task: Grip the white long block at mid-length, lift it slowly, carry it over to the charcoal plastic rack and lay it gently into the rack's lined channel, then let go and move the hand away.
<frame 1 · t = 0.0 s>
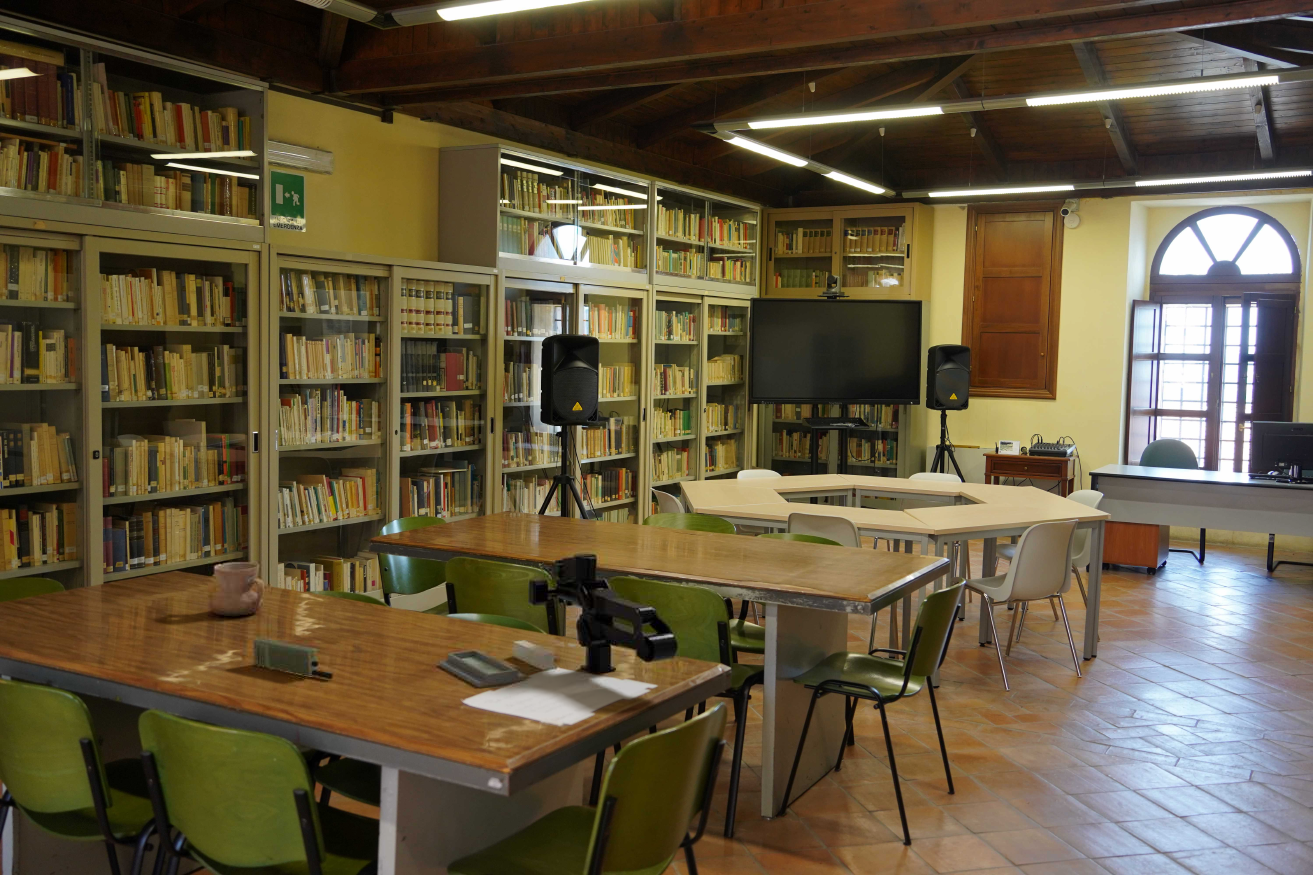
hand: (547, 584, 275), 17 cm above the table, tool horizontal, fingers open, 9 cm apart
strip rack: (481, 672, 250), on the table
ceramic jug: (238, 614, 308), on the table
handheld radio: (293, 674, 248), on the table
white long block: (533, 663, 261), on the table
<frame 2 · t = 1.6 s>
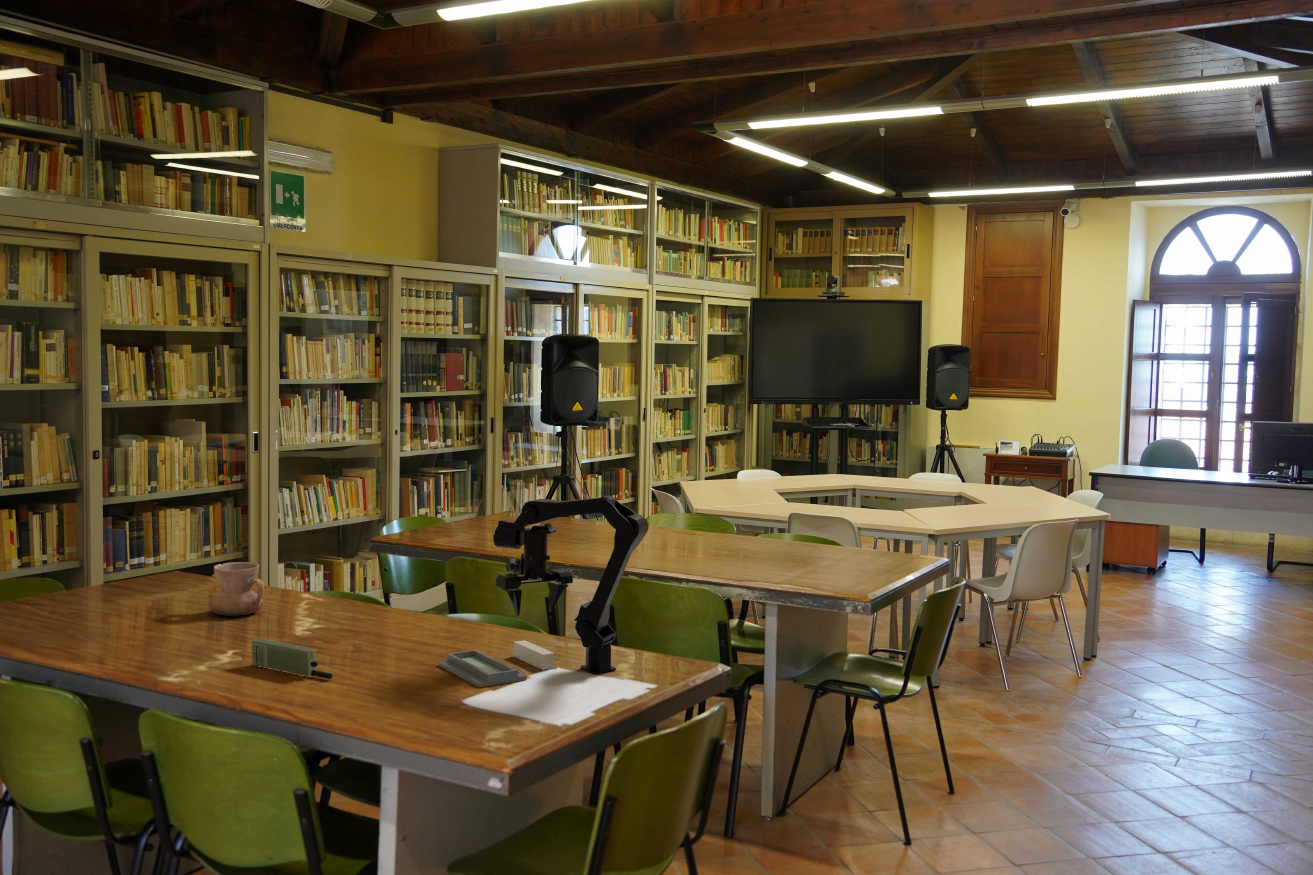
hand: (534, 613, 260), 12 cm above the table, tool pointing down, fingers open, 9 cm apart
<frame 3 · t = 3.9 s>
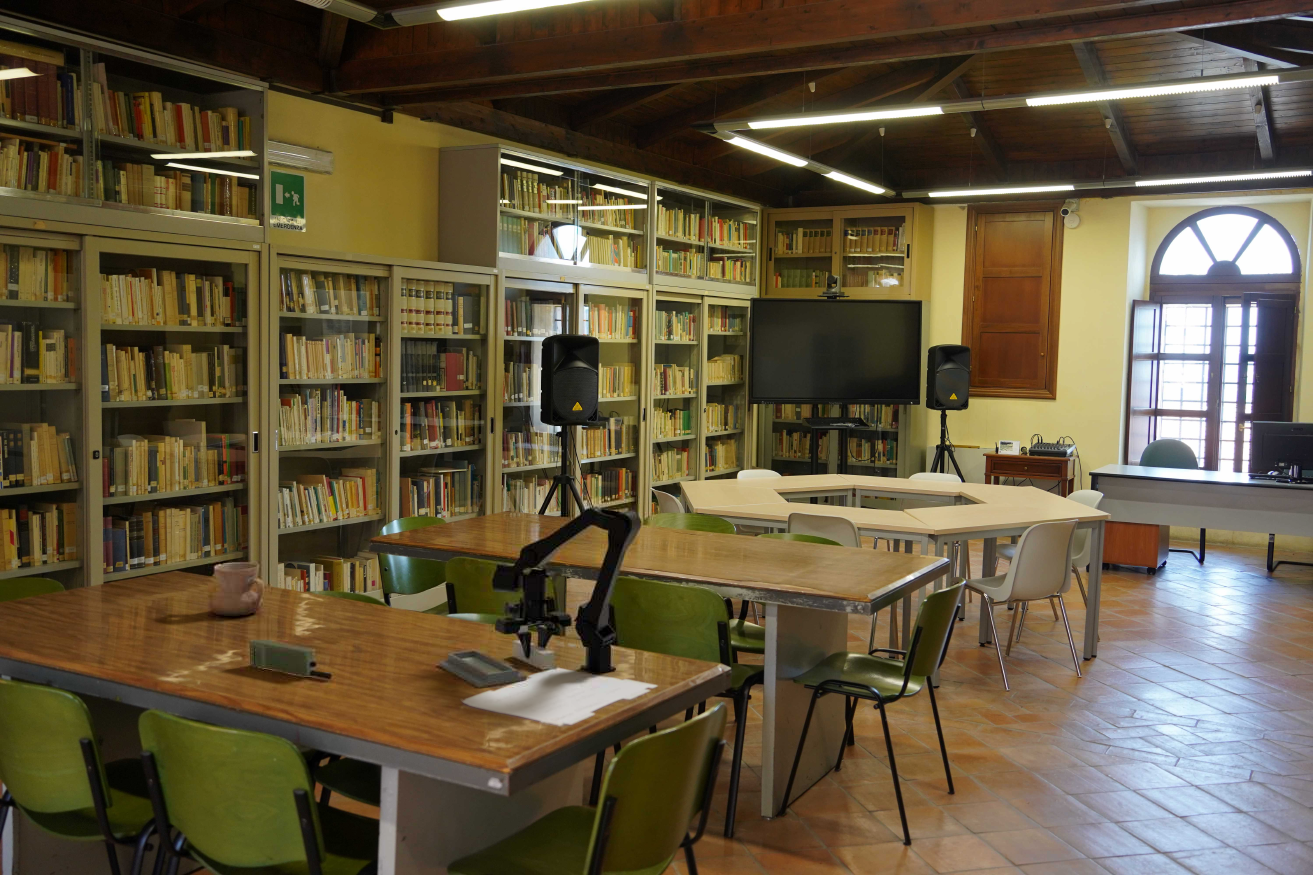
hand: (533, 657, 261), 1 cm above the table, tool pointing down, fingers closed on white long block, 3 cm apart
white long block: (533, 662, 261), on the table, touching gripper
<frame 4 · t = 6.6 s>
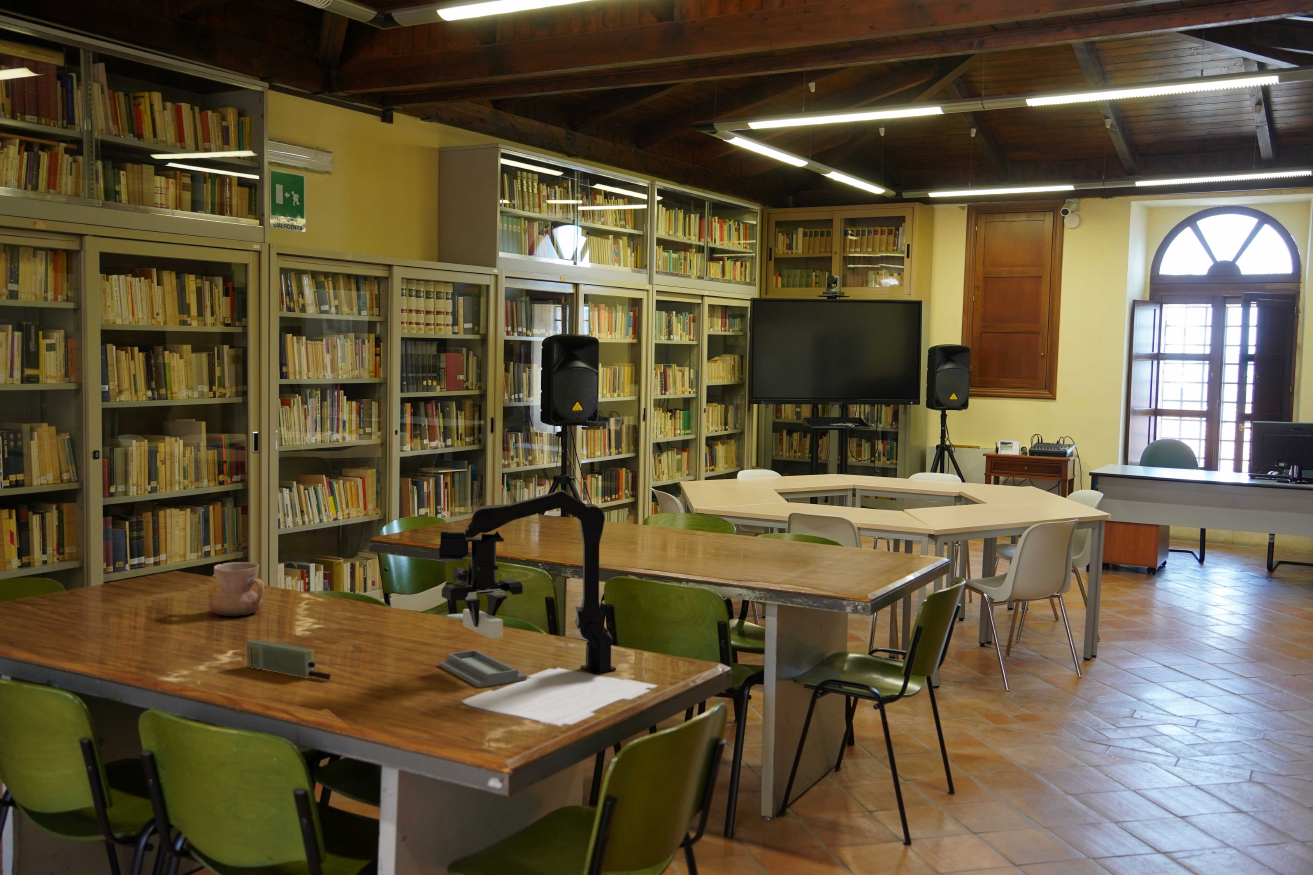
hand: (482, 625, 250), 11 cm above the table, tool pointing down, fingers closed on white long block, 3 cm apart
white long block: (482, 631, 250), point 10 cm above the table, touching gripper
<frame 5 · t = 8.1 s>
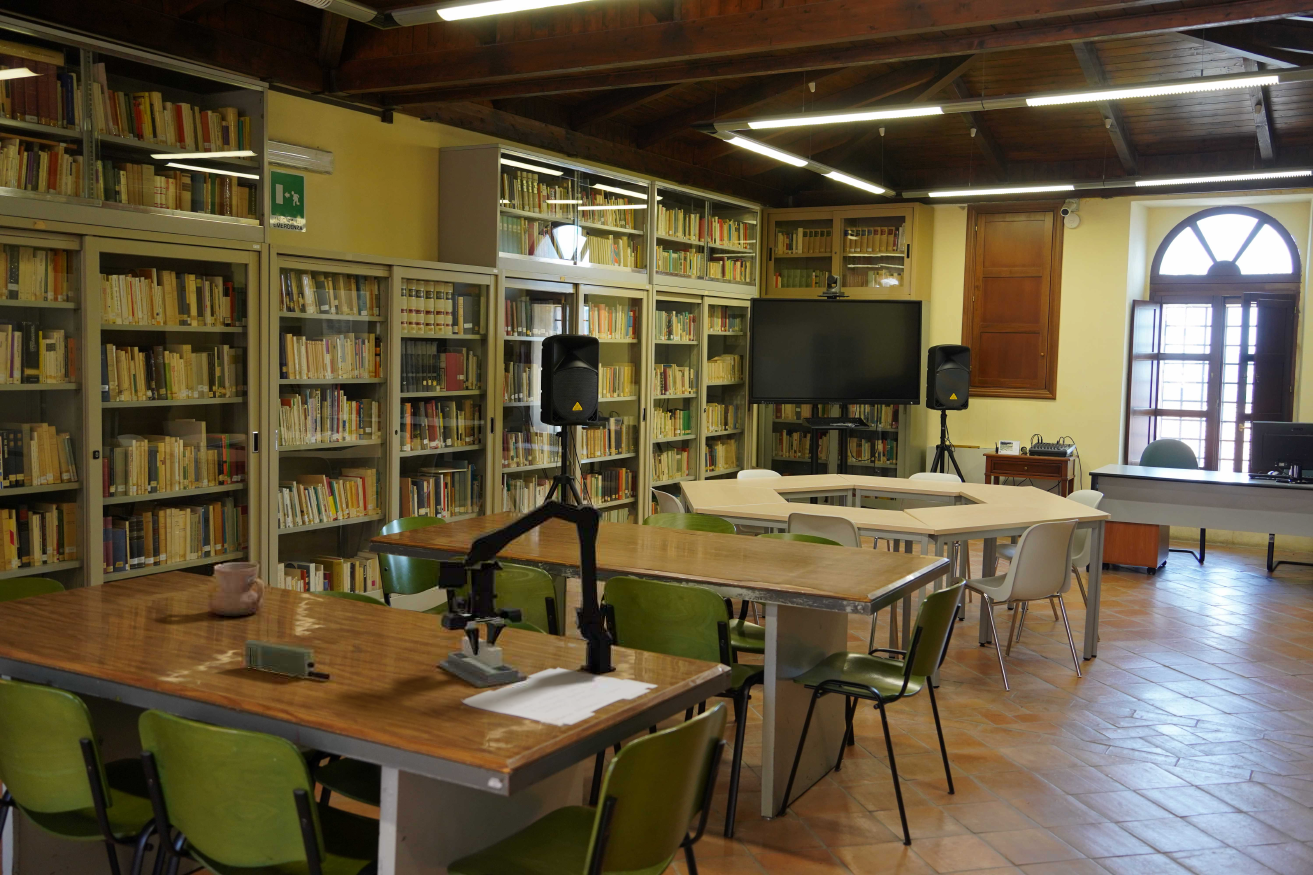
hand: (482, 654, 250), 4 cm above the table, tool pointing down, fingers closed on white long block, 3 cm apart
white long block: (481, 659, 250), point 3 cm above the table, touching gripper
when the fingers open (3 cm above the table, at t = 9.0 s): white long block stays where it is, resting on strip rack.
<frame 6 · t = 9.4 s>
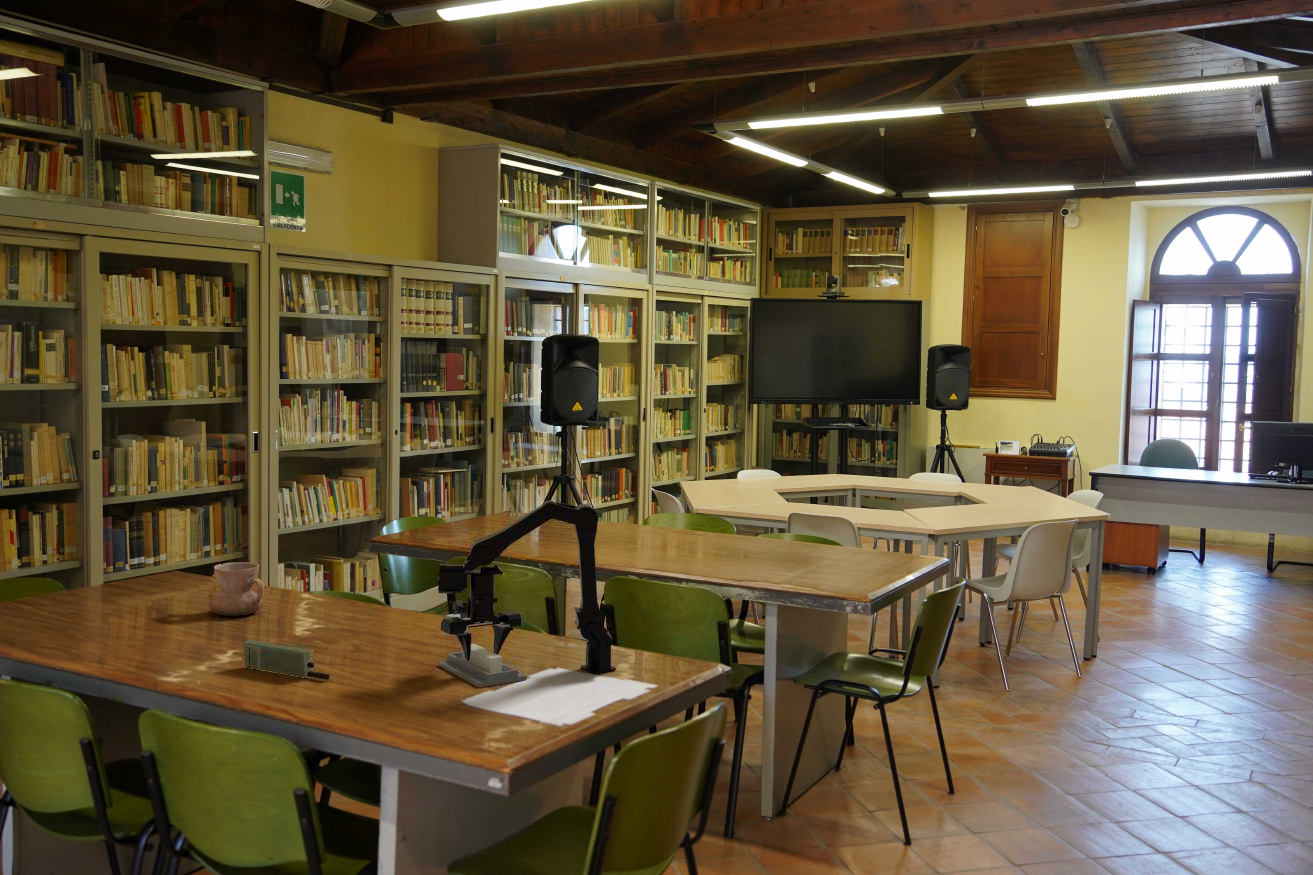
hand: (481, 658, 250), 3 cm above the table, tool pointing down, fingers open, 7 cm apart
white long block: (481, 667, 250), point 1 cm above the table, touching strip rack
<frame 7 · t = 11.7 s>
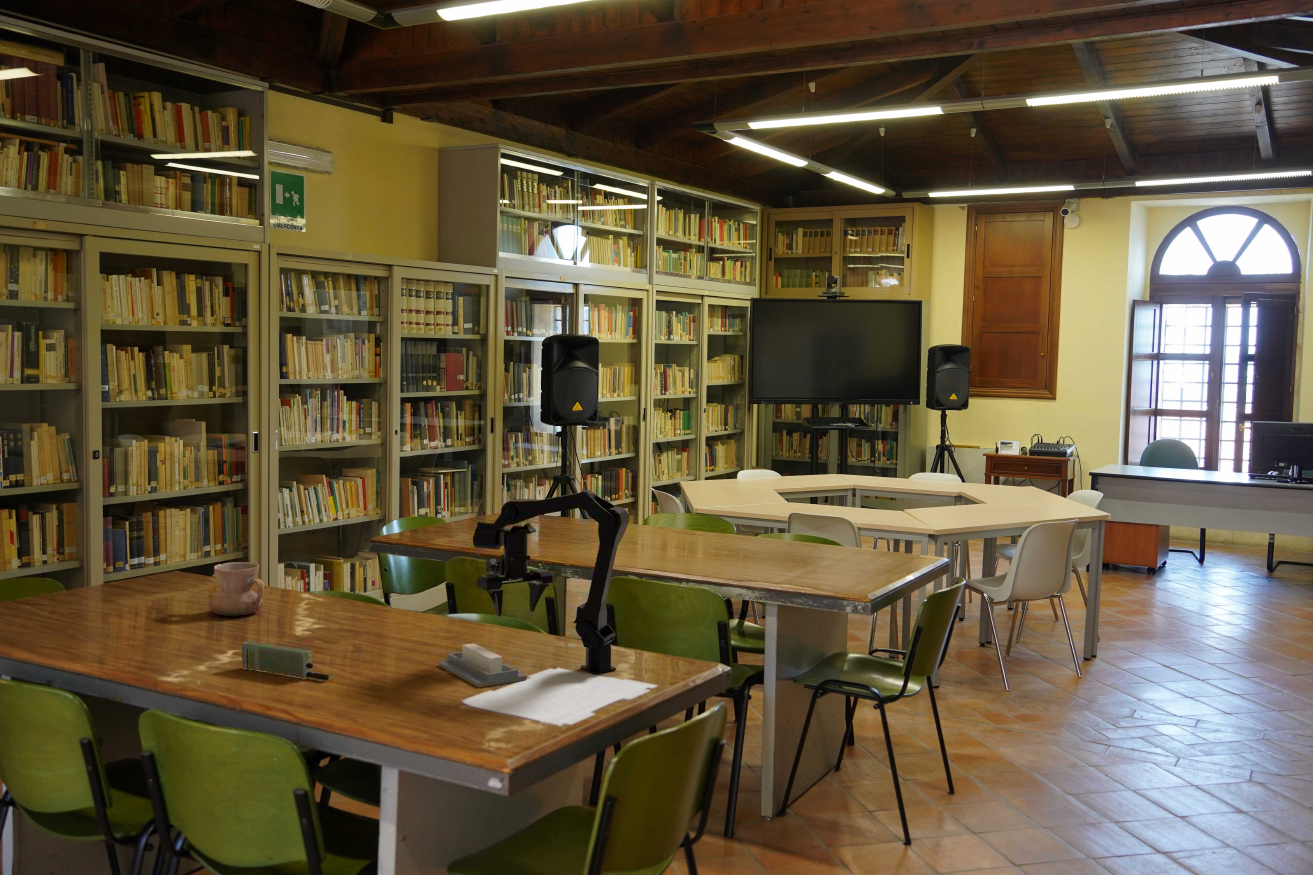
hand: (515, 613, 260), 12 cm above the table, tool pointing down, fingers open, 9 cm apart
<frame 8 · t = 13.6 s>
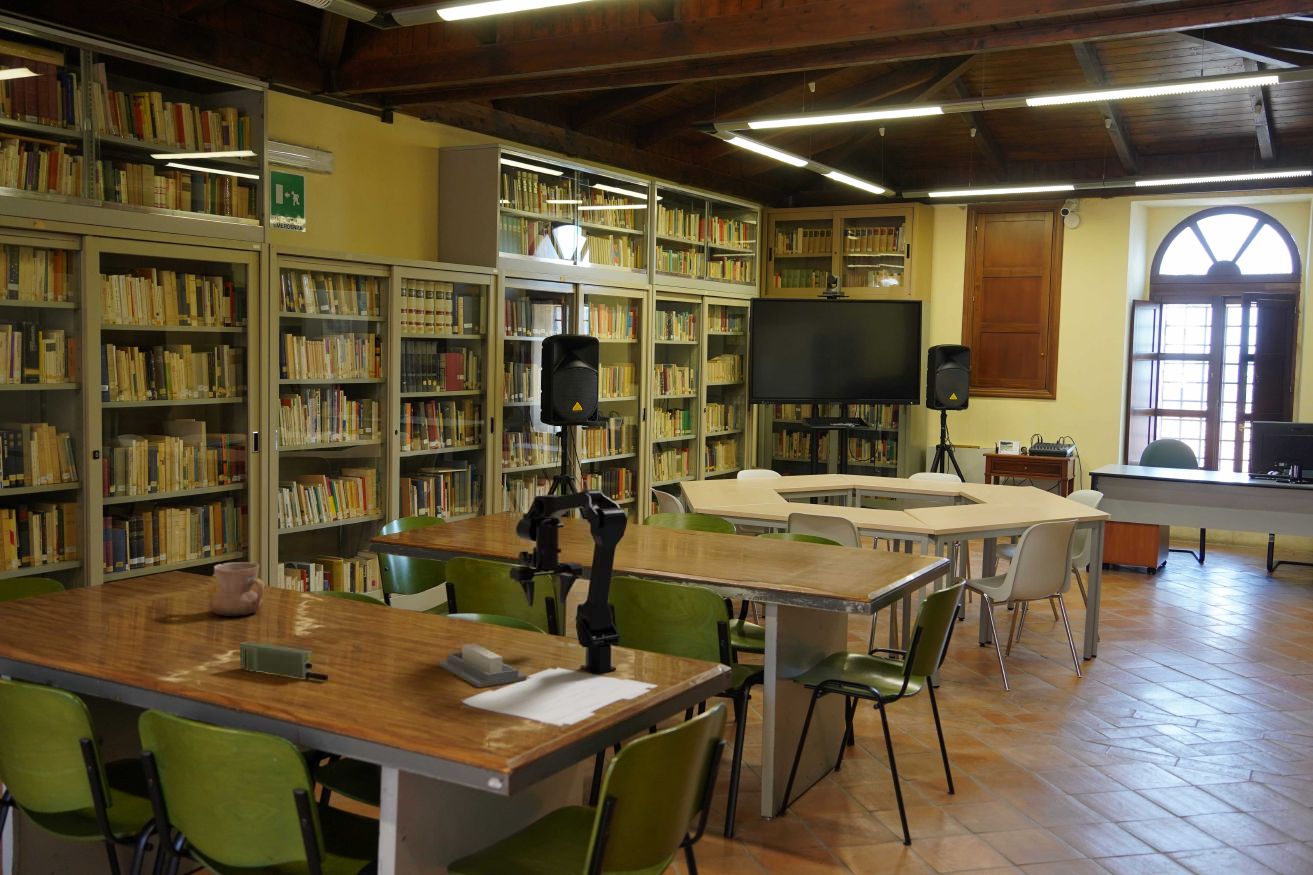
hand: (546, 604, 271), 12 cm above the table, tool pointing down, fingers open, 9 cm apart
at the end: white long block 0.1 cm off-centre on the strip rack, point 1.2 cm above the strip rack's base; white long block tilted 0°; the gripper is holding nothing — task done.
